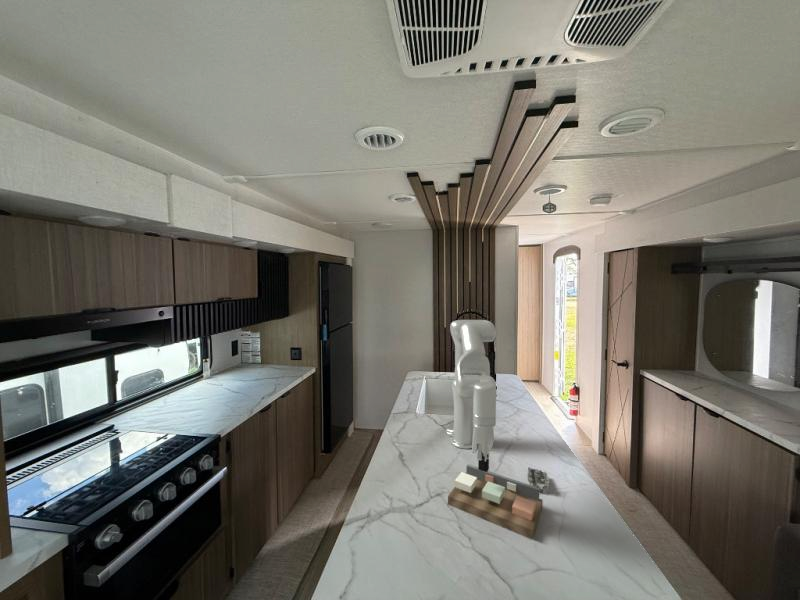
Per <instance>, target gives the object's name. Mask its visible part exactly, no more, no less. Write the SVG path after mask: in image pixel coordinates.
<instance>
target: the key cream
mask: <svg viewBox="0 0 800 600" xmlns="http://www.w3.org/2000/svg"><path fill="white" fill-rule="evenodd" d="M476 484H477V477H474V476H471V475H469V474H466V472H462V471H461V472H460V473H459V474H458V476H457V477H456V478H455V480H454V487H456V488H459V489H462V490H464V491H467V492H469V493H471V492H472V490H473V489H474V487H475V486H476Z"/></svg>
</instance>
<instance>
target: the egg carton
mask: <svg viewBox="0 0 800 600" xmlns="http://www.w3.org/2000/svg"><path fill="white" fill-rule="evenodd" d="M533 477H534V482H535V483H536V485H534V484H533V483H534V482H533ZM542 478H543V484H544V485H543V486H542V485H539V484H541V483H542ZM527 481H528V485H531V486H534V487H538V488H540V490H539V492H541V493H542V494H547V493H549V492H550V479H549V476H548V473H547V472H546V471H542V469H537V468H531V467H530V466H528V468H527Z"/></svg>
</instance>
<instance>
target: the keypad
mask: <svg viewBox="0 0 800 600" xmlns="http://www.w3.org/2000/svg"><path fill="white" fill-rule="evenodd" d="M465 473H466V474H469V475H471V476H474V477H477V484H476V486H475V487H474V489H473V490H472V492H471V493H469V492H467V491H464V490H462V489H459V488H456V487H455V486H454V487H453V488H452V490H451V491H450V492H449V494H448V496H447V505H449V506H451V507H454V508H457V509H459V510H461V511H463V512H466V513H467V514H471V515H472V516H475V517H478V518H480V519H483V520H485V521H487V522H490V523H491V524H494V525H496V526H499V527H501V528H505V529H506V528H507V530H509V531H512V532H513V531H514V533H516V534H518V535H520V536H523V537H525V536H526V538H528V539H530V540H533V538H534V535H535V532H536V530H537V525H538V524H539V523H538V522H539V520H540V517H541V513H542V509H543V504H544V503H543V499H541V498H540V491H539V490H540V488H538V487H534V486H535V485H534V486H531V485H529V483H525V482H522V481H519V480H516V479H513V478H510V477H507V476H504V475H501V474H497V473H495V472H492V471H490V470H488V472H484V471H481V470H479V469H478V466H474V465H472V464H471V465H470V464H467V465H466V472H465ZM488 481H489V482H491V483H494V484H497V485H500V486H503V487H505V495H504V497H503V499H502V501H501V502H500V504H498V503H496V502H493V501H490V500H488V499H485V498H482V490H483V488H484V487H485V485H486V483H487V482H488ZM517 496H519V497H522V498H524V499H527V500H530V501H533V502H536V510H535V513H534V516H533V519H532V521H530V520H528V519H525V518H523V517H520V516H517V515H515V514H512V506H513V503H514V501H515V499H516V497H517Z"/></svg>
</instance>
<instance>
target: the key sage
mask: <svg viewBox="0 0 800 600" xmlns="http://www.w3.org/2000/svg"><path fill="white" fill-rule="evenodd" d="M504 495H505V487H503V486H500V485H497V484H494V483H491V482H489V481H488V482H487V483H486V485H485V487H484V488H483V490H482V498H485V499H488V500H490V501H493V502H496V503H498V504H500V502H501V501H502V499H503V497H504Z"/></svg>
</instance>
